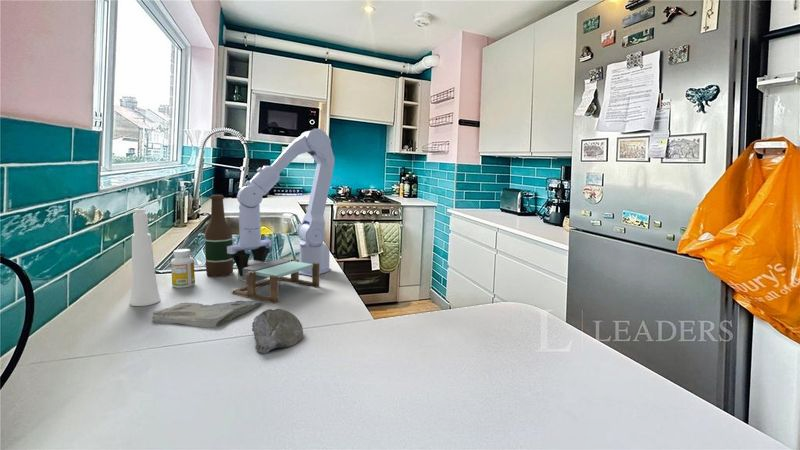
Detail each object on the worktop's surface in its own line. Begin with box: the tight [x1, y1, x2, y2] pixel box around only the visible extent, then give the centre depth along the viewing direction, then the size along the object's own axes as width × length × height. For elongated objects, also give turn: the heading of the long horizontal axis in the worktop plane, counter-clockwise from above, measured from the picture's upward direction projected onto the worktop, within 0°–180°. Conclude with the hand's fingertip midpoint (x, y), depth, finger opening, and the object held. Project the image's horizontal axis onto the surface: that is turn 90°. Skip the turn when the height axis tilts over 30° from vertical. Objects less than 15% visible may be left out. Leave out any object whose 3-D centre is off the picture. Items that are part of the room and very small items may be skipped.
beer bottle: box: [204, 194, 234, 278], centre depth 114 cm, size 8×8×24 cm
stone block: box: [237, 259, 265, 282], centre depth 111 cm, size 5×5×5 cm
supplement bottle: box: [170, 248, 196, 289], centre depth 103 cm, size 5×5×10 cm
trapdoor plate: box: [242, 258, 313, 282], centre depth 101 cm, size 14×12×3 cm
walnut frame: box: [231, 258, 320, 304], centre depth 102 cm, size 18×14×6 cm
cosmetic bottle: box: [129, 208, 161, 307], centre depth 88 cm, size 6×6×22 cm
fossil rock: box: [151, 300, 262, 328], centre depth 84 cm, size 18×15×2 cm
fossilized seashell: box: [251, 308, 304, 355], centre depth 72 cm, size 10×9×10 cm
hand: (251, 274), depth 111 cm, fingers closed on stone block, 5 cm apart
